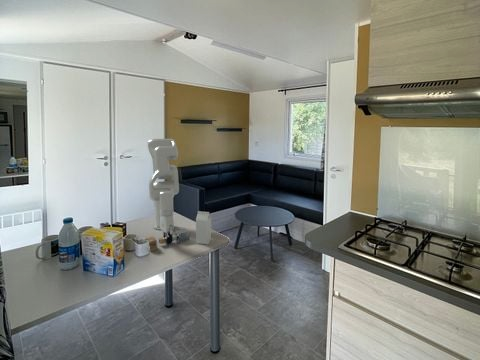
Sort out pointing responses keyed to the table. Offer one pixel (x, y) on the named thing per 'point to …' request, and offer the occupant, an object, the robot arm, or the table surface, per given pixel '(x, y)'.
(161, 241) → the tube
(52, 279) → the table surface
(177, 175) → the robot arm
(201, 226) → the milk carton
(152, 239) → the socket block
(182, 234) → the sleeve
